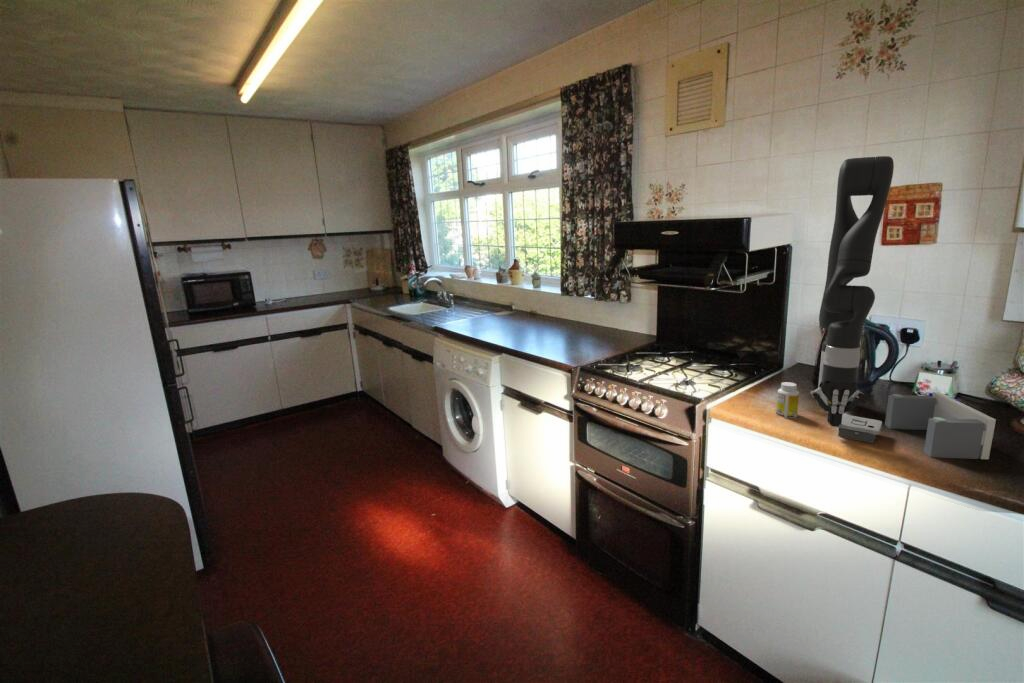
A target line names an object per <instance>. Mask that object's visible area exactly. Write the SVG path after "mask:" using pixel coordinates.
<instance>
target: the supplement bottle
mask: <svg viewBox="0 0 1024 683" xmlns="http://www.w3.org/2000/svg"><path fill="white" fill-rule="evenodd" d="M797 388H798V386H797V384H796V383H795V382H790V381H785V382H783V381H782V382H781V384H780V388H779V389H777V394H776V395H777V396H776V411H775V414H776V415H777V416H779V417H780V418H781V417H782V418H786V419H794V418H797V417H798V413H799V412H798V411H799V401H800V400H799V398H800V391H799V390H797Z"/></svg>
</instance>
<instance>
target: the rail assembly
mask: <svg viewBox="0 0 1024 683" xmlns="http://www.w3.org/2000/svg"><path fill="white" fill-rule="evenodd" d="M932 393H933V395H932V396H929V395H913V394H912V395H911V394H910V395H909V394H908V395H907V394H906V395H904V394H899V393H892V394H889V395H888V398H887V406H886V412H885V420H884V426H885V427H886V428H888V429H889V430H890V429H891V430H892V429H894V430H912V431H913V430H915V431H926V435H925V440H924V441H925V442H924V448H923V453H924V454H925V455H926V456H928V457H929V458H939V459H940V458H942V459H970V460H971V459H972V460H979V459H980V460H989V459H990V454H991V448H992V442H993V438H994V432H995V426H996V421H997V419H996V418H993V417H992V416H989V415H988V414H985V413H984V412H982V411H979V410H977V409H974V408H973V407H971V406H968V405H966V404H964V403H962V402H961V403H960V402H958V401H956V400H954V399H955V398H954V399H952V398H953V397H950V396H949V395H948V396H947V395H946V394H944V393H942V392H940V391H939V392H938V391H935V392H933V391H932Z"/></svg>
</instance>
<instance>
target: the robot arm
mask: <svg viewBox="0 0 1024 683" xmlns="http://www.w3.org/2000/svg"><path fill="white" fill-rule="evenodd" d="M894 163H895V162H894V159H893V158H892V157H891V156H887V155H883V156H882V155H880V156H878V155H877V156H869V157H868V156H866V157H852V158H846V159H845V160H843V162H842V164H841V165H840V168H839V170H838V171H839V173H838V176H837V177H838V178H837V188H836V202H835V215H834V222H833V229H832V234H831V239H830V245H829V252H828V259H827V260H828V261H827V270H826V271H827V272H826V279H825V280H826V281H825V285H824V291H823V295H822V298H821V299H822V300H821V305H820V309H819V316H818V322H819V326H820V328H822V329H823V330H827V336H826V337H827V339H826V340H824V341H823V342H822V344H821V354H820V355H821V356H820V365H819V374H818V386H817V388H816V389H811V390H809V394H810V396H811V397H812V398H813V399H814V400H815V402H816V404H817V405H818V406H819V407H820V408H821V409H822V410H823V411H825V412H827V420H826V421H827V423H828V424H829V426H831V427H836V428H838V427H839V425H841V423H842V414H844V413H847V412H848V413H850V412H852V411H853V410H854V409H855V408H856V407H857V406H858V405H859V404H861V403H862V402H863V401H864V400H865V399H866V398H867V395H866V394H865V393H863V392H862V391H860V390H859V389H858V385H857V381H858V374H859V366H860V362H861V361H860V357H861V355H860V354H861V353H860V348H861V347H860V346H861V338H862V333H863V328H864V325H865V322H866V320H867V317H868V316H869V314H870V311H871V309H872V307H873V306H874V303H875V301H876V300H875V299H876V295H875V292H874V290H873V288H871V287H870V286H866V285H849V283H850V282H851V281H853V280H854V279H856V278H862V277H866V276H868V275H869V273H870V271H871V267H872V259H873V253H874V247H875V244H876V243H875V242H876V238H877V234H878V230H879V228H880V224H881V222H882V219H883V218H882V217H883V215H884V212H885V208H886V205H887V204H886V203H887V201H888V196H889V193H890V190H891V186H892V180H893V176H894V167H895V165H894ZM857 196H858V197H859V196H861V197H862V196H872V198H871V201H870V204H869V206H868V207H867V209H866V210H865V212H864V213H863V214H862V216H861V217H860V218H859V217H858V215H857V213H856V211H855V209H854V206H853V202H852V198H851V197H857Z"/></svg>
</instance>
